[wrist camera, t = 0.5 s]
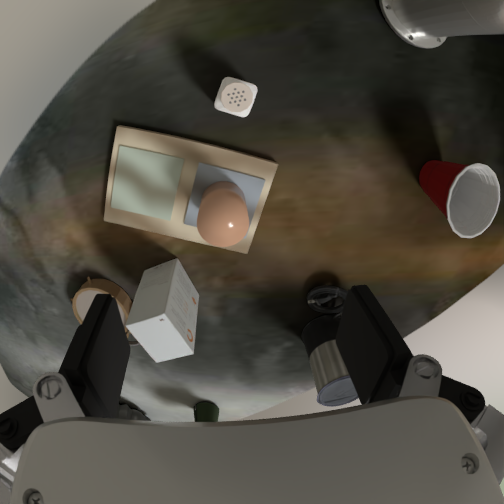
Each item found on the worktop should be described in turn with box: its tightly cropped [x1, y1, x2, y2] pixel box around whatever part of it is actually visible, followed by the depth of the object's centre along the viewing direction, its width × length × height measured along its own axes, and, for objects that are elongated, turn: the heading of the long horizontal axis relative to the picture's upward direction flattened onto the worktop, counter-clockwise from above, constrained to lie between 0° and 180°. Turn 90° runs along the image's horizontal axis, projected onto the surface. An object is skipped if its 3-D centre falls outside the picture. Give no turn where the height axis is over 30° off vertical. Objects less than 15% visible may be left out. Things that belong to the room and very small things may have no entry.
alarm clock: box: [70, 277, 140, 346], centre depth 49 cm, size 11×5×15 cm
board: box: [104, 125, 278, 254], centre depth 40 cm, size 14×22×2 cm, turn 73°
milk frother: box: [301, 285, 359, 406], centre depth 48 cm, size 14×16×15 cm
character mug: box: [194, 403, 219, 422], centre depth 62 cm, size 11×7×13 cm, turn 142°
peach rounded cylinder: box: [197, 181, 249, 247], centre depth 38 cm, size 6×6×7 cm
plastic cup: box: [419, 160, 500, 238], centre depth 37 cm, size 11×11×12 cm
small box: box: [125, 258, 199, 362], centre depth 43 cm, size 8×6×13 cm
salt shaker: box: [214, 77, 257, 117], centre depth 31 cm, size 4×4×10 cm
